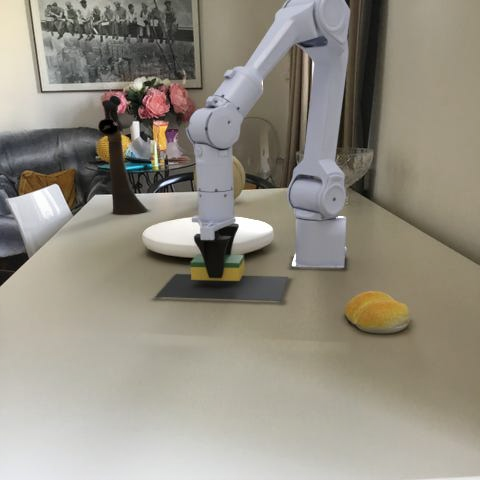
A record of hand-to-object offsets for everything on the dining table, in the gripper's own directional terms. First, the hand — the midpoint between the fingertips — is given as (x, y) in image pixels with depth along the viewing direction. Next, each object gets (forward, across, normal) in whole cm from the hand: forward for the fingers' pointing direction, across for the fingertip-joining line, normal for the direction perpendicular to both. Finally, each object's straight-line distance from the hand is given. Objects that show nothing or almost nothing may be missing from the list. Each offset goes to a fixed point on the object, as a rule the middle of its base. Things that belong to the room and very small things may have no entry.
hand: (219, 272), depth 94 cm
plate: (+3, -23, -7) cm, 24 cm away
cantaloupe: (+3, -73, -15) cm, 75 cm away
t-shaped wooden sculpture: (+3, -61, -38) cm, 72 cm away
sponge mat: (+3, +1, +1) cm, 3 cm away
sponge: (+1, 0, 0) cm, 1 cm away
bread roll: (+3, +13, +25) cm, 28 cm away
